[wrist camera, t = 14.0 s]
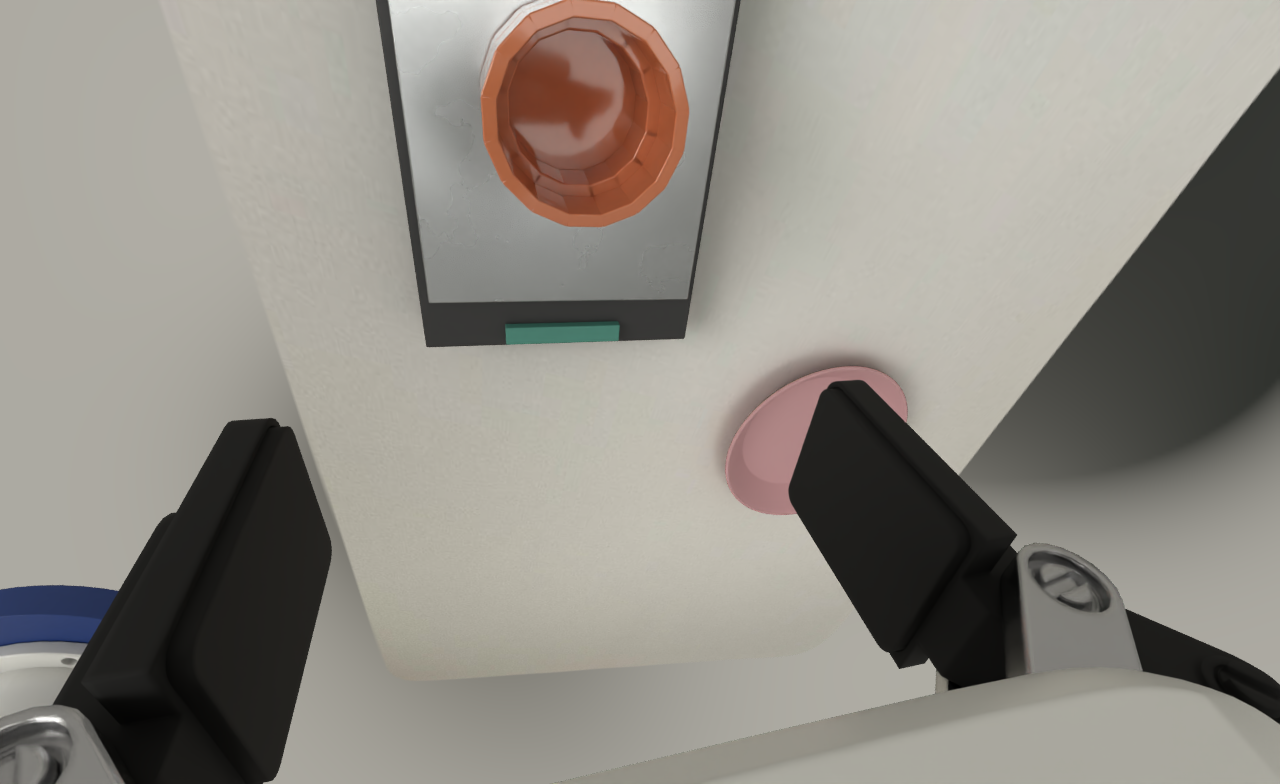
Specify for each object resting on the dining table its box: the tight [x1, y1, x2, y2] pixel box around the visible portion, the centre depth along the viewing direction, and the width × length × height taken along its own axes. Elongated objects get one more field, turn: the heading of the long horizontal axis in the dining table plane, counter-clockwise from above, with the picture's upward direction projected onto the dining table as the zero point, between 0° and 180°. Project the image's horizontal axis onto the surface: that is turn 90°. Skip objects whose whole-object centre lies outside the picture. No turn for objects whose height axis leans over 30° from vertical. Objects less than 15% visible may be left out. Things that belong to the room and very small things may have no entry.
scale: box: [376, 0, 740, 347], centre depth 24 cm, size 14×24×3 cm, turn 174°
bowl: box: [480, 0, 689, 227], centre depth 21 cm, size 7×7×5 cm
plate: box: [725, 366, 908, 515], centre depth 42 cm, size 14×14×2 cm
